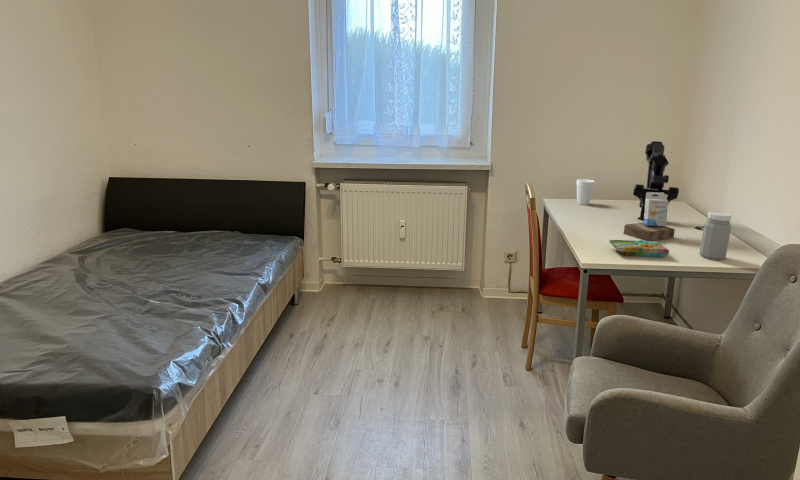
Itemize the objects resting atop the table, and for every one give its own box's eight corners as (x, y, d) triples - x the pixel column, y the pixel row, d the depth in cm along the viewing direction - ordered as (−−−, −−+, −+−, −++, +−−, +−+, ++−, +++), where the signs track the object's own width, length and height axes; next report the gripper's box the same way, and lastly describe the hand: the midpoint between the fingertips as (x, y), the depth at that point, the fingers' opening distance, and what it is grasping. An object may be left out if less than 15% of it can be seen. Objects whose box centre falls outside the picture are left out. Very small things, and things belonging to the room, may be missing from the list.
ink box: (647, 225, 271) (649, 192, 269) (643, 224, 276) (645, 192, 274) (666, 226, 271) (668, 192, 269) (662, 224, 276) (664, 192, 274)
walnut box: (647, 231, 284) (649, 221, 282) (673, 239, 272) (675, 228, 271) (623, 235, 277) (624, 224, 275) (648, 243, 265) (650, 231, 263)
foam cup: (571, 203, 336) (574, 180, 333) (577, 201, 343) (580, 178, 340) (588, 206, 331) (591, 182, 327) (594, 203, 338) (597, 180, 335)
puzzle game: (669, 248, 240) (618, 245, 241) (667, 259, 241) (616, 257, 242) (658, 240, 251) (609, 237, 252) (657, 250, 252) (608, 248, 253)
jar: (696, 252, 251) (704, 209, 246) (722, 255, 248) (730, 212, 243) (700, 259, 242) (708, 215, 237) (727, 262, 239) (736, 217, 234)
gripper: (637, 166, 277) (634, 195, 270) (681, 169, 271) (680, 198, 264) (634, 181, 286) (631, 208, 279) (677, 184, 281) (675, 212, 274)
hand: (654, 207), depth 274 cm, fingers open, 9 cm apart
